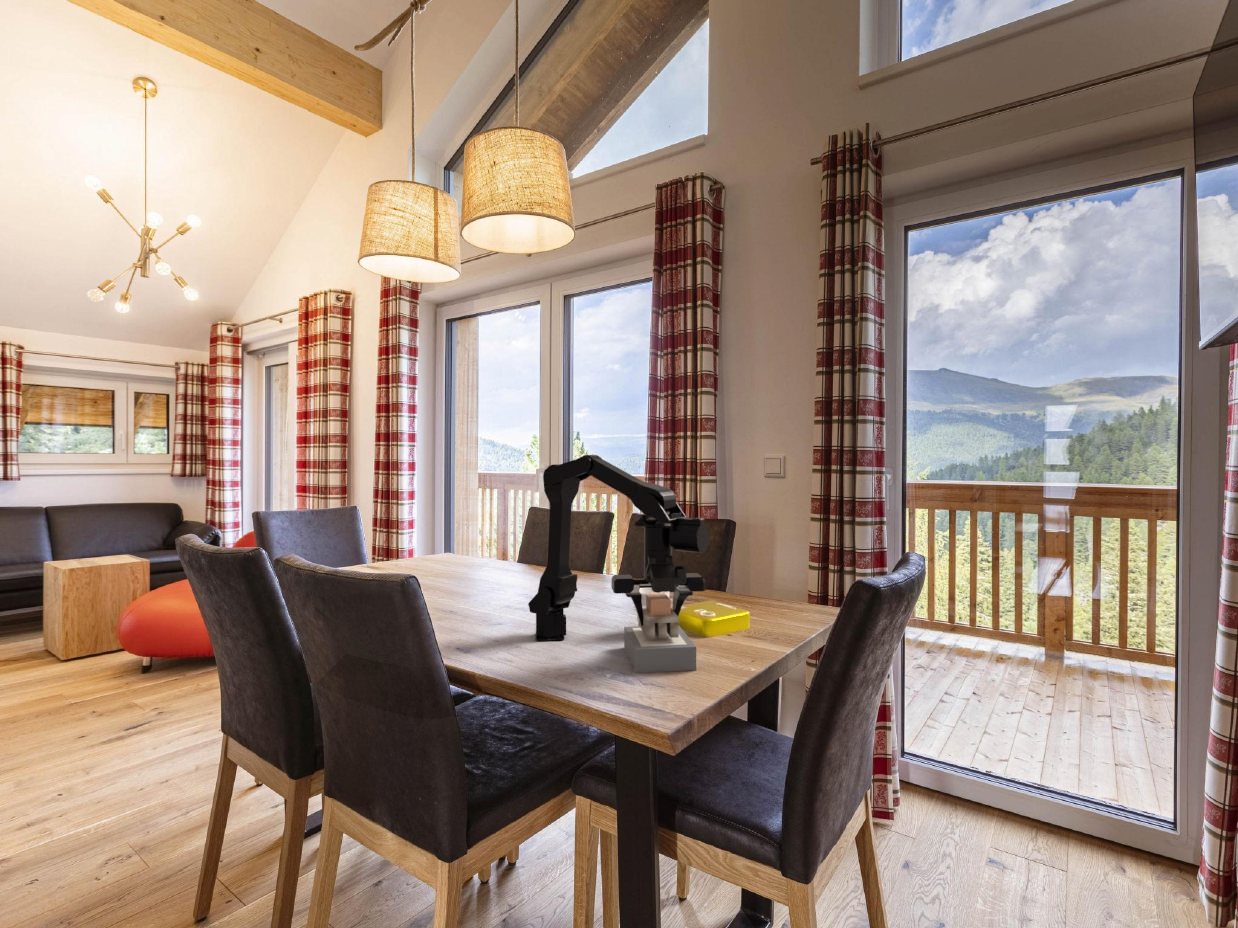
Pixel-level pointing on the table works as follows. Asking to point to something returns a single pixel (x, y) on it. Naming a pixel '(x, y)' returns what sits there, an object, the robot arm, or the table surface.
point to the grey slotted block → (660, 625)
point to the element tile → (713, 618)
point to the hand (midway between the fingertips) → (657, 624)
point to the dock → (659, 651)
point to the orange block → (658, 604)
